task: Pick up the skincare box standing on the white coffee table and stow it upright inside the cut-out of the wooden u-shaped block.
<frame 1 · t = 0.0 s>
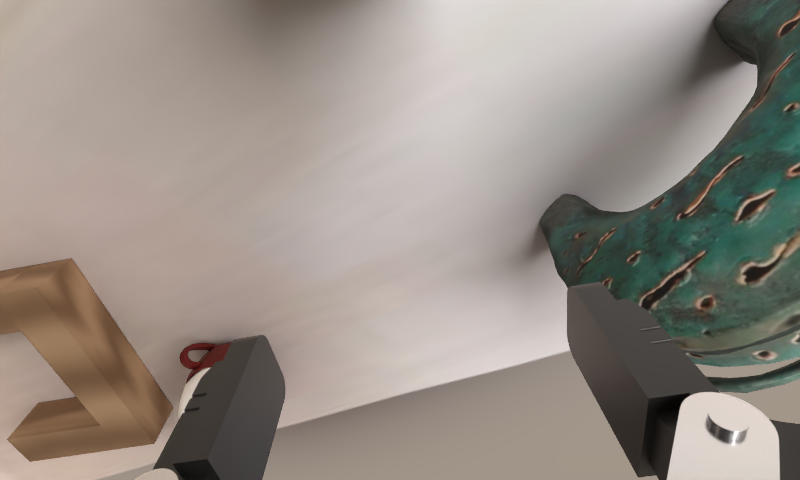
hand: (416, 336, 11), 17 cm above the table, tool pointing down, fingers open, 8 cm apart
cocoa: (243, 360, 35), on the table
wooden u-shaped block: (69, 351, 34), on the table
ceramic cat: (656, 122, 26), on the table
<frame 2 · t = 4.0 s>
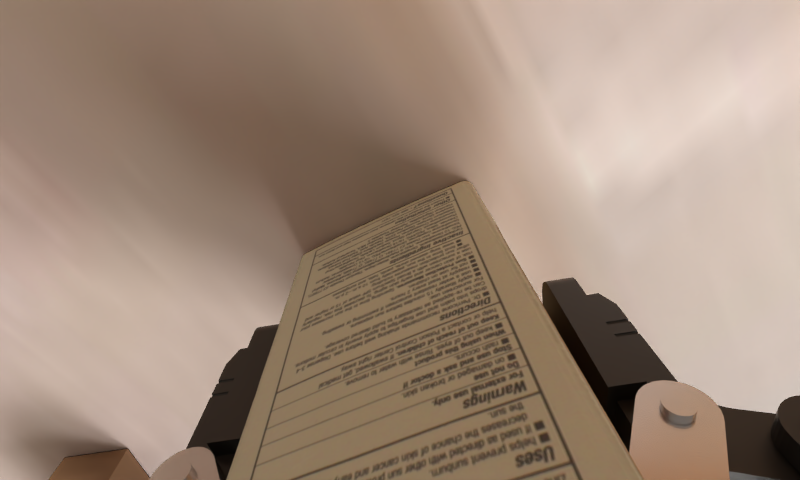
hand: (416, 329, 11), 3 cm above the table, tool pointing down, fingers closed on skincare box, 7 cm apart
skincare box: (412, 261, 15), on the table, touching gripper
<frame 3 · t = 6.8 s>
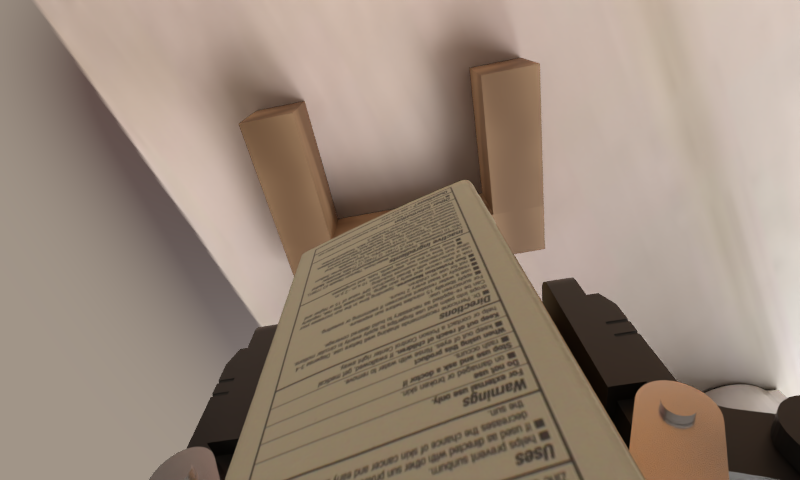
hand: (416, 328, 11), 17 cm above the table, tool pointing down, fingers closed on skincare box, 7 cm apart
skincare box: (412, 260, 15), point 14 cm above the table, touching gripper
wooden u-shaped block: (403, 178, 28), on the table
when the fingers open (5 cm above the table, at t = 9.7 s): skincare box drops 1 cm, on the table.
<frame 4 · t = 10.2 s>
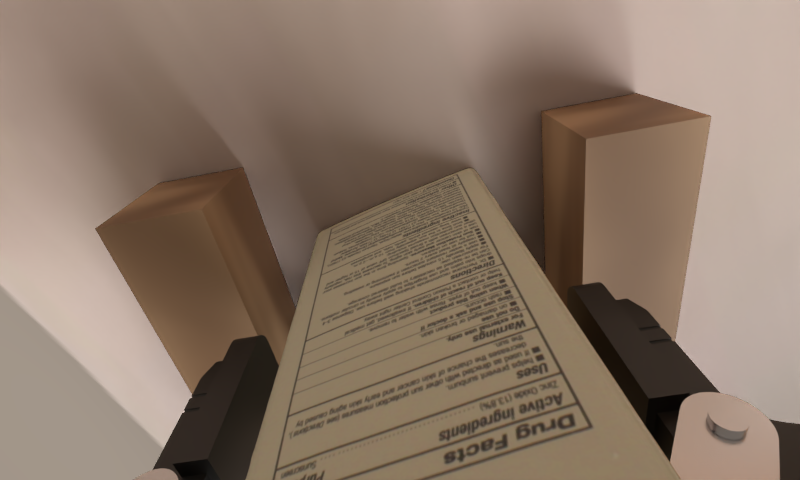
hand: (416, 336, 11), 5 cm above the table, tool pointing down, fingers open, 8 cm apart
skincare box: (418, 242, 16), on the table
wooden u-shaped block: (417, 288, 17), on the table
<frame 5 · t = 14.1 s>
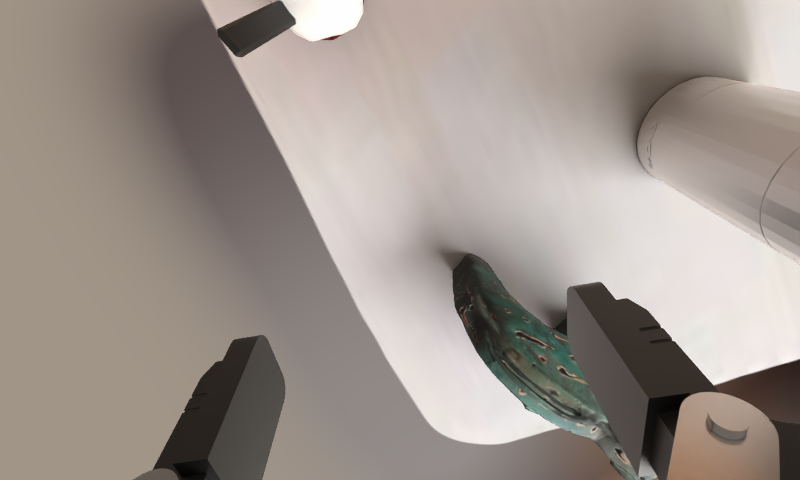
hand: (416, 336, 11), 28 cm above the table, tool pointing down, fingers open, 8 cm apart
ceramic cat: (525, 301, 46), on the table
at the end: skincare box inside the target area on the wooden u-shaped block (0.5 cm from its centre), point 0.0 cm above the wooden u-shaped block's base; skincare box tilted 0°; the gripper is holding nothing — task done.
